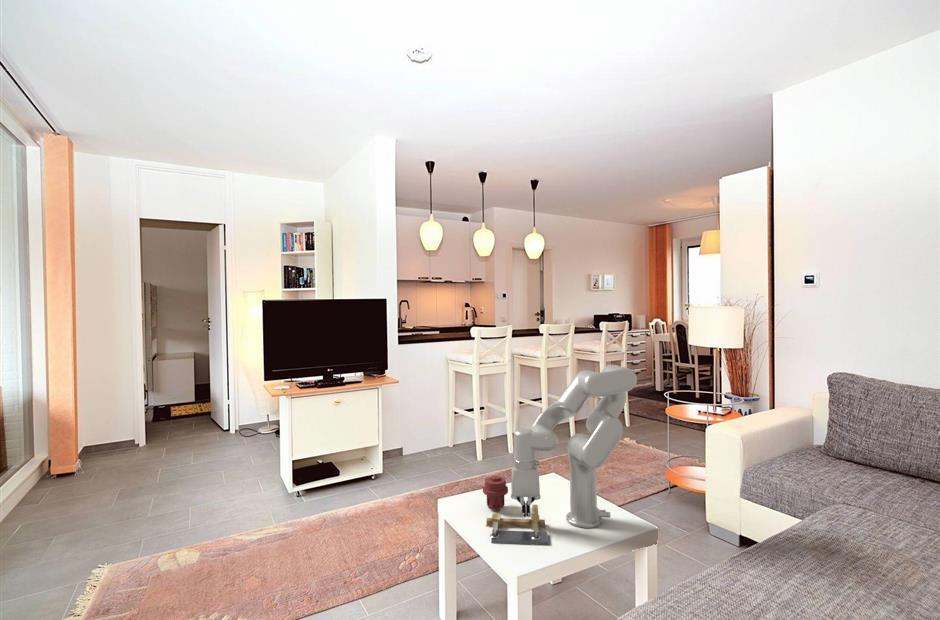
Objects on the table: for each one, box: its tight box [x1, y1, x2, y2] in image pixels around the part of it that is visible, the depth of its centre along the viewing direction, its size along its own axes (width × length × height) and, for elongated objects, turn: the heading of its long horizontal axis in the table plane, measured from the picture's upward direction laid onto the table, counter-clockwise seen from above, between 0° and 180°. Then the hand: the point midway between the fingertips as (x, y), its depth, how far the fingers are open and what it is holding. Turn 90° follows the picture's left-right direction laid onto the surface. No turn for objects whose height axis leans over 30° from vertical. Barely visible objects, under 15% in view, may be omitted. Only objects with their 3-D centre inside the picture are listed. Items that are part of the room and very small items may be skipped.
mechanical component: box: [482, 475, 509, 513], centre depth 180 cm, size 12×10×10 cm
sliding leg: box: [530, 504, 541, 537], centre depth 160 cm, size 3×13×7 cm, turn 173°
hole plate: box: [489, 529, 550, 546], centre depth 156 cm, size 20×7×1 cm, turn 84°
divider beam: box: [485, 512, 546, 536], centre depth 161 cm, size 21×13×3 cm, turn 84°
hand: (526, 514), depth 165 cm, fingers closed
